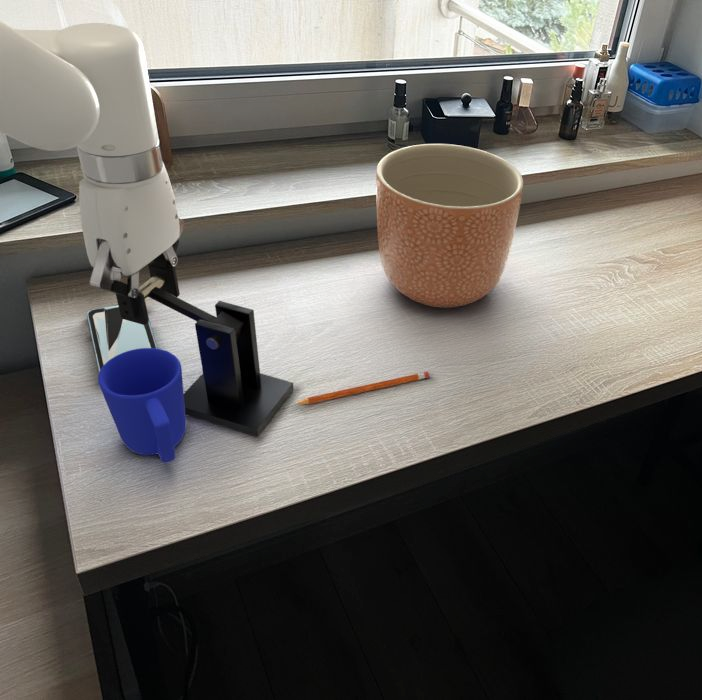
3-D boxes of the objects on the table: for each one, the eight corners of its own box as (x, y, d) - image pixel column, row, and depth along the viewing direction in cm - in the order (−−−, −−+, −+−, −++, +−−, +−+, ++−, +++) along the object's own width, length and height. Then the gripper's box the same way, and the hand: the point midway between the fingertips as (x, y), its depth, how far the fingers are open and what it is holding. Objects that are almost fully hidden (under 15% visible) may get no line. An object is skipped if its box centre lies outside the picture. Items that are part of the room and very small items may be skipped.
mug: (136, 498, 76) (117, 431, 70) (109, 426, 84) (89, 360, 77) (214, 470, 80) (202, 404, 74) (181, 404, 88) (168, 339, 81)
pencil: (429, 378, 96) (429, 374, 95) (295, 408, 89) (295, 403, 88) (427, 374, 96) (427, 370, 96) (293, 403, 89) (293, 399, 89)
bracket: (174, 411, 86) (156, 326, 79) (216, 367, 93) (203, 284, 85) (257, 436, 85) (248, 352, 77) (293, 389, 92) (288, 307, 84)
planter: (364, 254, 118) (366, 143, 107) (485, 248, 124) (500, 142, 112) (385, 330, 103) (390, 210, 91) (523, 320, 108) (544, 205, 97)
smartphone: (99, 380, 88) (85, 310, 98) (101, 385, 89) (86, 315, 99) (163, 365, 91) (143, 299, 101) (164, 371, 92) (144, 305, 102)
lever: (127, 305, 81) (128, 289, 79) (154, 283, 85) (156, 267, 83) (224, 354, 81) (226, 339, 80) (247, 330, 85) (250, 315, 83)
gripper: (142, 123, 80) (167, 264, 91) (25, 184, 66) (71, 340, 78) (202, 137, 78) (220, 278, 90) (97, 202, 65) (133, 358, 76)
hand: (151, 305), depth 84 cm, fingers closed on lever, 5 cm apart
